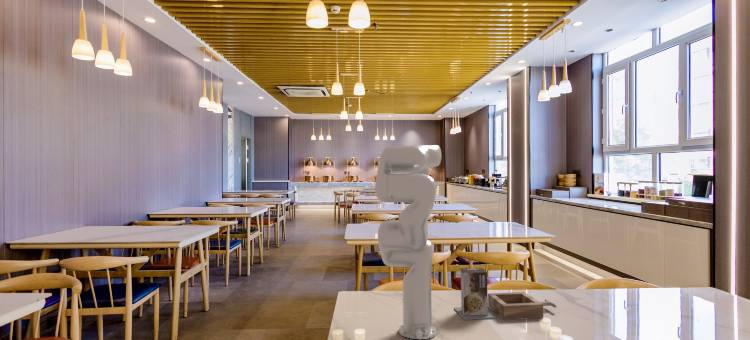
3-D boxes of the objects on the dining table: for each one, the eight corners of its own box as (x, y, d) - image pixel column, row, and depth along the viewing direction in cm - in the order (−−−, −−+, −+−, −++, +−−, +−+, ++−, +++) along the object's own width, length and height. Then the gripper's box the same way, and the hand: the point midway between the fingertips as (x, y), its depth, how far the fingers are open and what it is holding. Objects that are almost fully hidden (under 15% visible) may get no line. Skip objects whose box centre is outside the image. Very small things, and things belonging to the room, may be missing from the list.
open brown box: (563, 316, 146) (562, 303, 146) (504, 319, 144) (503, 305, 144) (541, 303, 161) (541, 291, 161) (488, 305, 159) (487, 293, 159)
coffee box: (484, 309, 153) (484, 267, 153) (488, 315, 147) (487, 272, 147) (460, 309, 154) (460, 267, 154) (463, 315, 147) (462, 271, 147)
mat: (495, 318, 145) (495, 317, 145) (463, 320, 144) (463, 318, 144) (483, 307, 157) (483, 306, 157) (453, 308, 156) (453, 307, 156)
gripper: (434, 178, 148) (434, 224, 148) (423, 178, 165) (424, 219, 165) (414, 178, 147) (414, 225, 147) (406, 178, 164) (406, 219, 164)
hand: (419, 222), depth 156 cm, fingers open, 9 cm apart
